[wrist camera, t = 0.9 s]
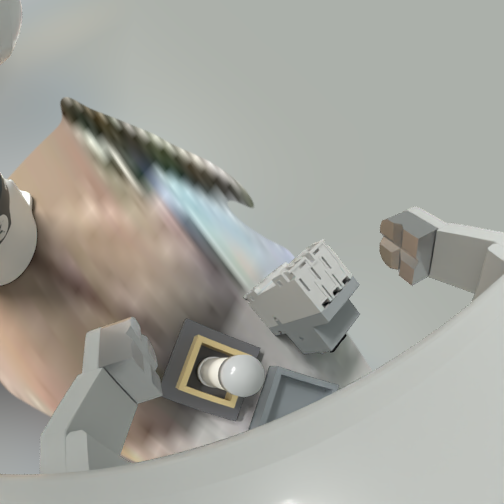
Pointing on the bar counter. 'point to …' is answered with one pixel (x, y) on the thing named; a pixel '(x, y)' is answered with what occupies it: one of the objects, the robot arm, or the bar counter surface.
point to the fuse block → (186, 360)
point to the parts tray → (287, 394)
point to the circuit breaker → (308, 300)
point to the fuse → (232, 374)
